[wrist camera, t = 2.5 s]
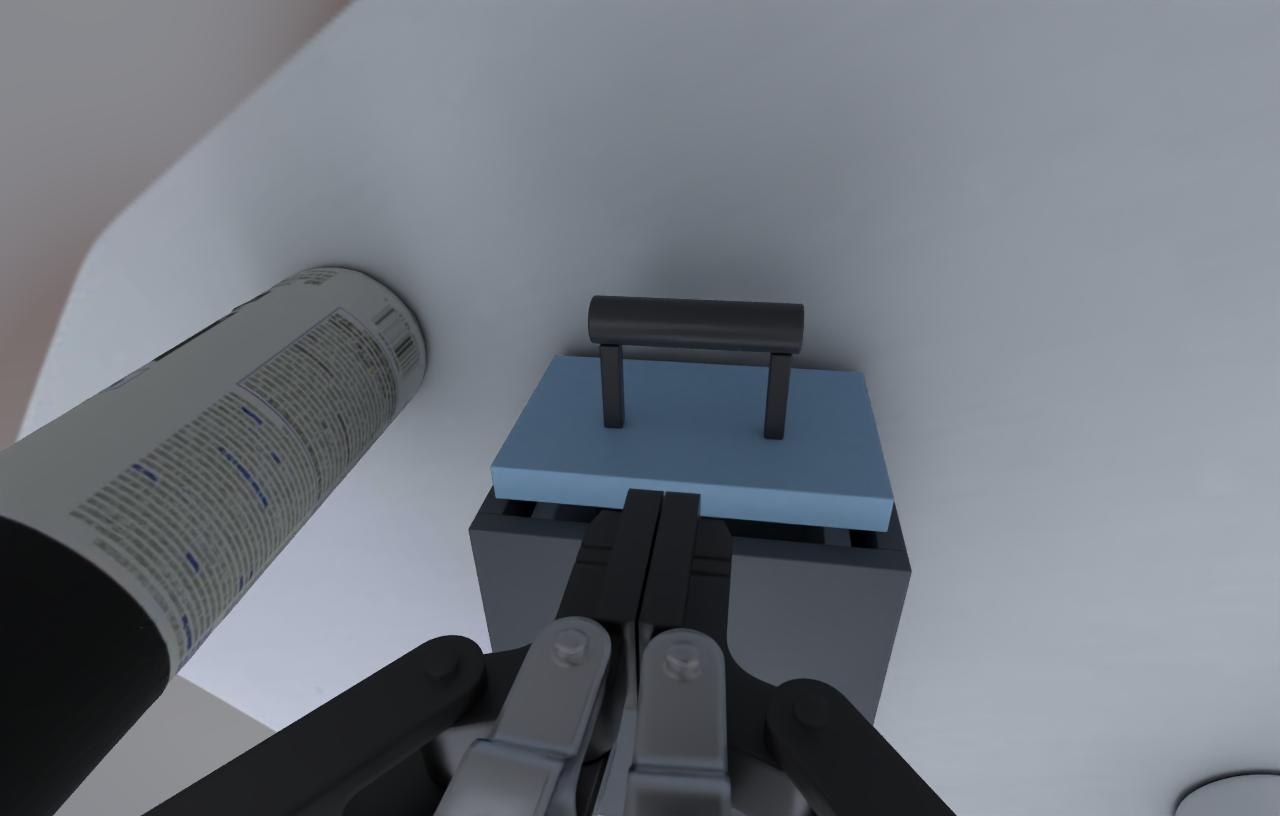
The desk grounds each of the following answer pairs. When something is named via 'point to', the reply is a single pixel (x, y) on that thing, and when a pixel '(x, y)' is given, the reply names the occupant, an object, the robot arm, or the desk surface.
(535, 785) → the robot arm
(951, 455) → the desk surface
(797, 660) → the dark grey open box
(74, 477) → the spray can
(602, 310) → the blue drawer
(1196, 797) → the bath foam
